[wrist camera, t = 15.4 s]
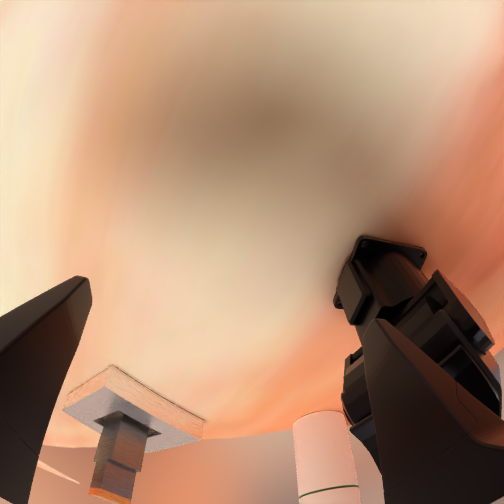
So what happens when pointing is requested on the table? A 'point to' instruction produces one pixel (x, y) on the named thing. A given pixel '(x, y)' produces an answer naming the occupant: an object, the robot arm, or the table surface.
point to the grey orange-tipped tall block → (118, 458)
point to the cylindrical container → (324, 460)
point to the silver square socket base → (133, 409)
